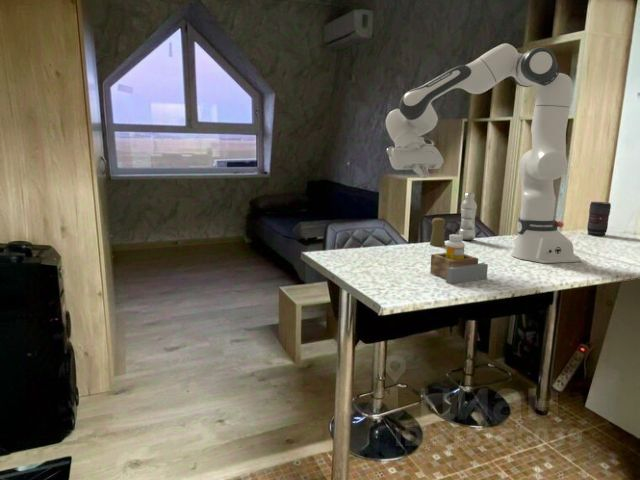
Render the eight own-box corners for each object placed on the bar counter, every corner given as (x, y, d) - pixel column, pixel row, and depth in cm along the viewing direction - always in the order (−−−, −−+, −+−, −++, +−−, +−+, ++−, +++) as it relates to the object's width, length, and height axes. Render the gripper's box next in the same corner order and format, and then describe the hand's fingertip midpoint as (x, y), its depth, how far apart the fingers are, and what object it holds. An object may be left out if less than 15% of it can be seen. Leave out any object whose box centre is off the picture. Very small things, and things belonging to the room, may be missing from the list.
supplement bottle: (442, 263, 148) (444, 233, 146) (459, 263, 149) (461, 233, 147) (448, 268, 143) (450, 237, 141) (465, 267, 144) (468, 236, 142)
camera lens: (608, 237, 208) (613, 203, 205) (587, 236, 210) (592, 202, 207) (604, 234, 215) (609, 201, 212) (584, 232, 218) (588, 200, 215)
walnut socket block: (430, 272, 149) (431, 254, 148) (455, 269, 153) (456, 251, 152) (451, 281, 140) (452, 261, 139) (476, 277, 144) (478, 258, 143)
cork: (445, 246, 187) (447, 219, 185) (429, 246, 188) (431, 219, 186) (444, 243, 193) (446, 217, 191) (429, 242, 194) (430, 216, 192)
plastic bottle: (472, 242, 196) (476, 194, 192) (456, 240, 199) (459, 193, 195) (476, 239, 201) (480, 193, 197) (460, 237, 205) (463, 192, 201)
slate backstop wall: (446, 282, 139) (446, 267, 138) (481, 276, 145) (483, 262, 144) (450, 284, 138) (451, 269, 137) (486, 278, 143) (487, 264, 142)
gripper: (388, 140, 160) (403, 170, 154) (436, 140, 169) (453, 169, 162) (381, 153, 165) (395, 183, 159) (428, 153, 174) (443, 181, 167)
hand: (425, 176), depth 160 cm, fingers closed
